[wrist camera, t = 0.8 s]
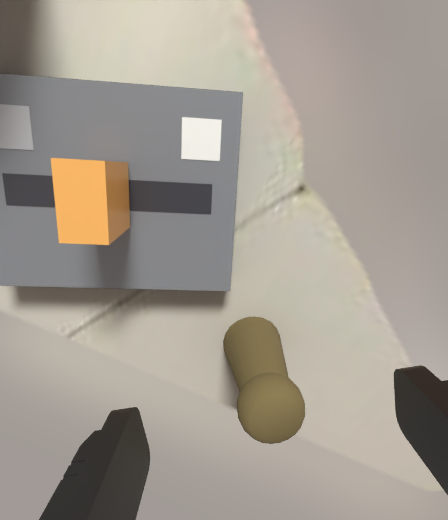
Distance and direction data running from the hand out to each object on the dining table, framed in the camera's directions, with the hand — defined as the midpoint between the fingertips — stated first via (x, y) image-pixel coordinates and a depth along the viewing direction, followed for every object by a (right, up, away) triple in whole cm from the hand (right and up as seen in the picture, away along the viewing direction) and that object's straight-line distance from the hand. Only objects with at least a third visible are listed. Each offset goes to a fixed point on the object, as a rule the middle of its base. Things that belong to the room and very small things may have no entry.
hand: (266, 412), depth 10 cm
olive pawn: (+2, -4, +23) cm, 24 cm away
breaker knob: (-10, +10, +15) cm, 20 cm away
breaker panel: (-11, +11, +18) cm, 23 cm away
